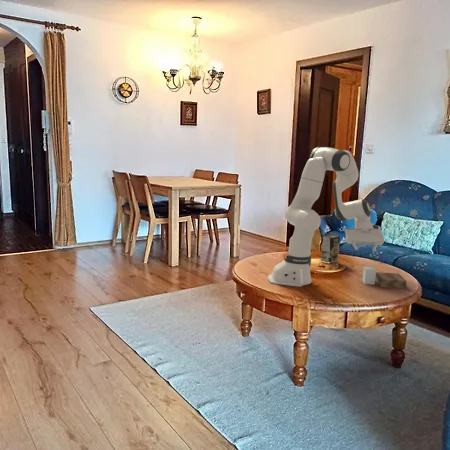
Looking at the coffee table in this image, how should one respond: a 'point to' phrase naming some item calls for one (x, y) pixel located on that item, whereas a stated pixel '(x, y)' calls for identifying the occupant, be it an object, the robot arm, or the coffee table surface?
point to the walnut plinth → (390, 280)
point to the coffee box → (330, 248)
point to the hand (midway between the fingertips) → (365, 250)
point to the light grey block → (369, 275)
